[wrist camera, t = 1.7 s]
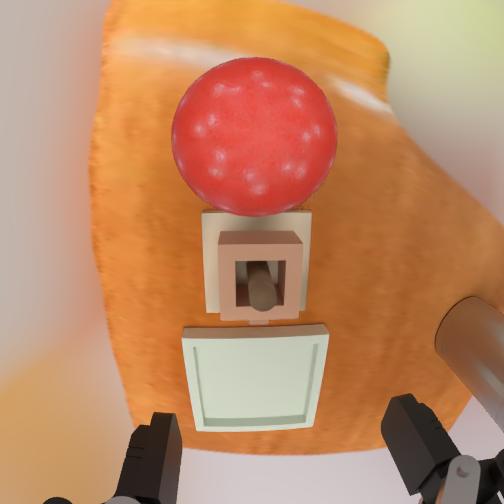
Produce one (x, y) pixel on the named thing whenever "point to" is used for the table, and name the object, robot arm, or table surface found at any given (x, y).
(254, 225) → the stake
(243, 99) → the stacking toy
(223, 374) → the tray
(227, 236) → the collar
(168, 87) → the table surface
